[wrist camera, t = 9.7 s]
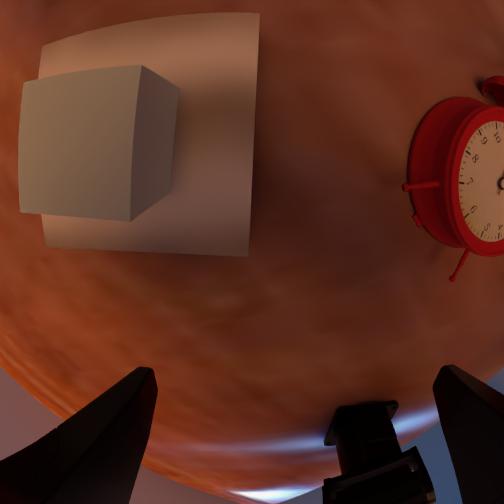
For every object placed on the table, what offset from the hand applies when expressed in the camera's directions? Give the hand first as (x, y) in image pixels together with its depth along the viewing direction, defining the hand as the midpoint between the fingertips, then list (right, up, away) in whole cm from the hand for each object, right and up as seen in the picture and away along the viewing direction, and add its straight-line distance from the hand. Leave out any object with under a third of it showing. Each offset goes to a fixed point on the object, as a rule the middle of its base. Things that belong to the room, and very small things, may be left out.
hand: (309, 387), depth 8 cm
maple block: (-7, +11, +9) cm, 16 cm away
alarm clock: (+15, +11, +8) cm, 20 cm away
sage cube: (-8, +9, +5) cm, 13 cm away
